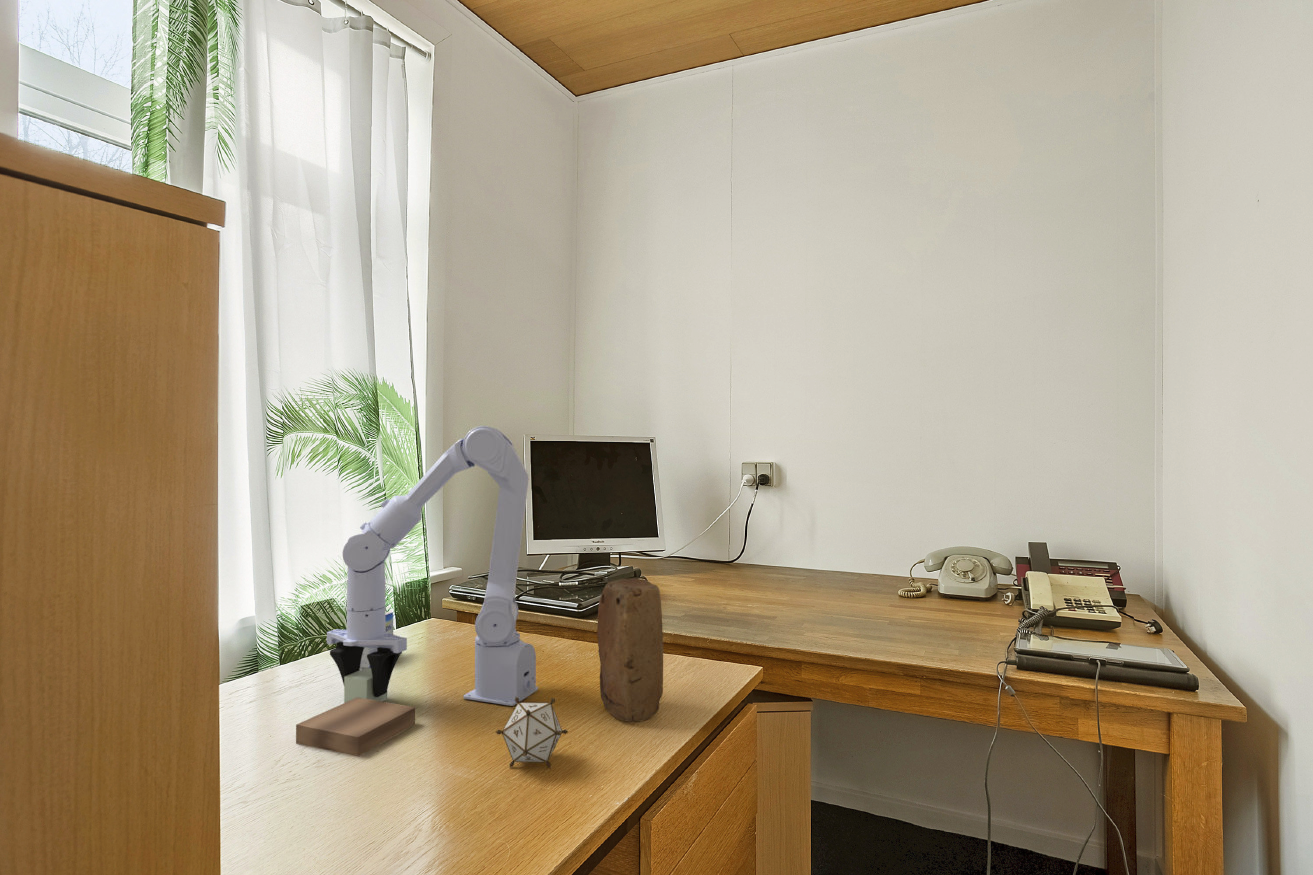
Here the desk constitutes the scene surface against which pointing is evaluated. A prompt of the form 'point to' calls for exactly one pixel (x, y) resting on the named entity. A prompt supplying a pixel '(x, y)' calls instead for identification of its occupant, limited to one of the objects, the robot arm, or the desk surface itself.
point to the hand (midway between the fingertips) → (366, 692)
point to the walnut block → (355, 726)
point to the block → (630, 648)
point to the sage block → (360, 686)
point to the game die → (532, 732)
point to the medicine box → (370, 650)
